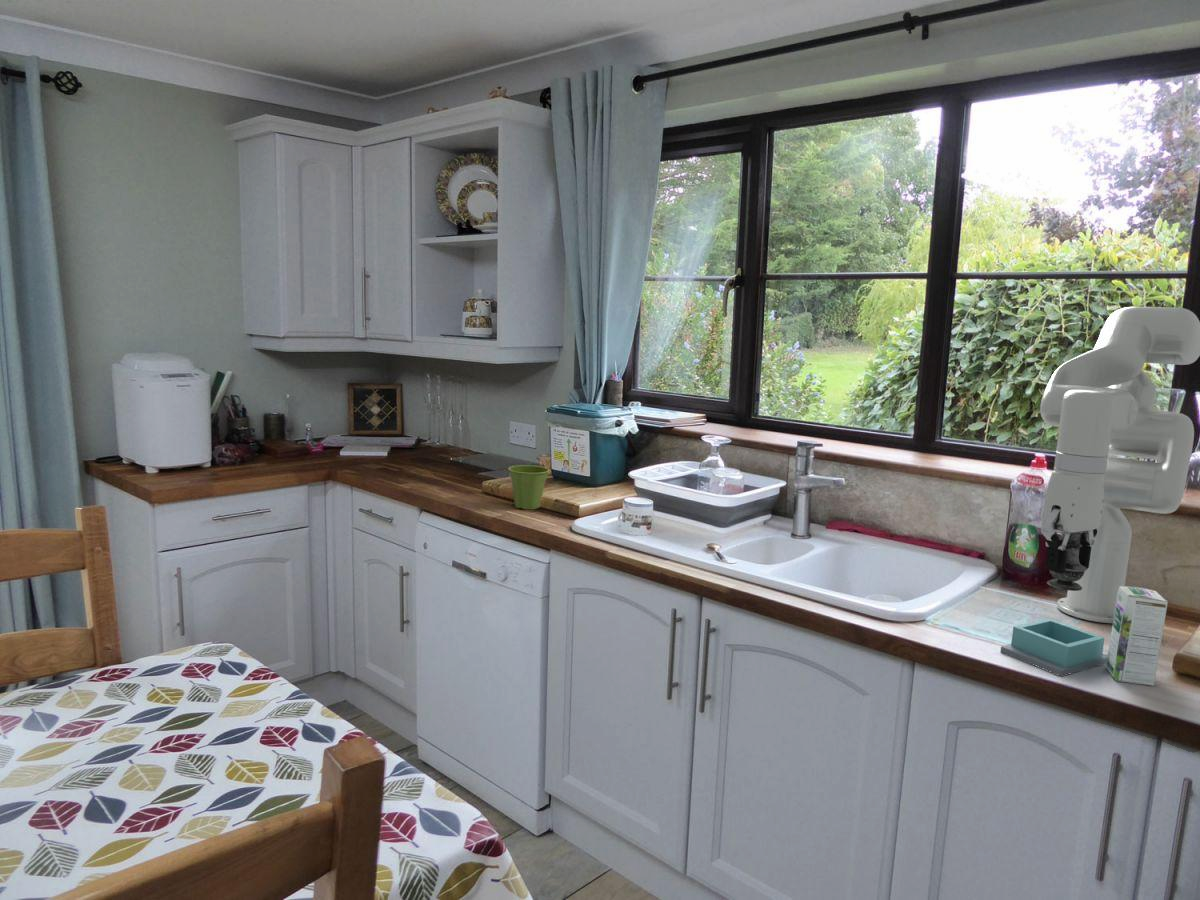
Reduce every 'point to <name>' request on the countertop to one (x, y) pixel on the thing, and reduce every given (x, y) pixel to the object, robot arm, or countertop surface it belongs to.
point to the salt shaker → (1070, 567)
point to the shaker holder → (1056, 647)
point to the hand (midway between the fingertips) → (1066, 568)
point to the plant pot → (528, 485)
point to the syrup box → (1136, 635)
